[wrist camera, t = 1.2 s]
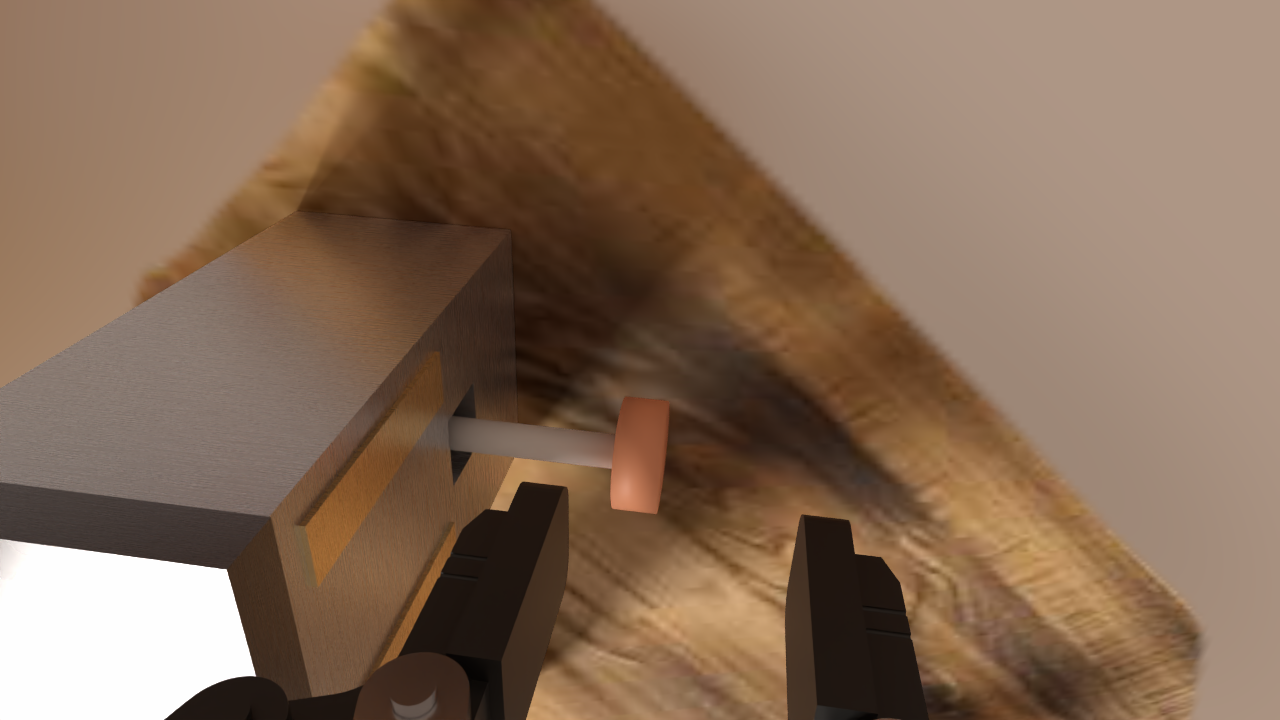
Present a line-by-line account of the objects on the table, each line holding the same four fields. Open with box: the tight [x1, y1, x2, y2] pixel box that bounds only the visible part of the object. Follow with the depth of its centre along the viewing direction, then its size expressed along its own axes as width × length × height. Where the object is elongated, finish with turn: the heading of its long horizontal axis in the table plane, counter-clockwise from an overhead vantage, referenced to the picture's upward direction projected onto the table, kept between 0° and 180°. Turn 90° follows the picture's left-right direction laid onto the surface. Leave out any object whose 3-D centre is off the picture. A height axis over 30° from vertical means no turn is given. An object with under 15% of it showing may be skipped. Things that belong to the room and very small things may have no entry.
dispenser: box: [0, 211, 518, 720], centre depth 35 cm, size 13×15×26 cm
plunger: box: [448, 397, 669, 514], centre depth 37 cm, size 14×5×5 cm, turn 88°
